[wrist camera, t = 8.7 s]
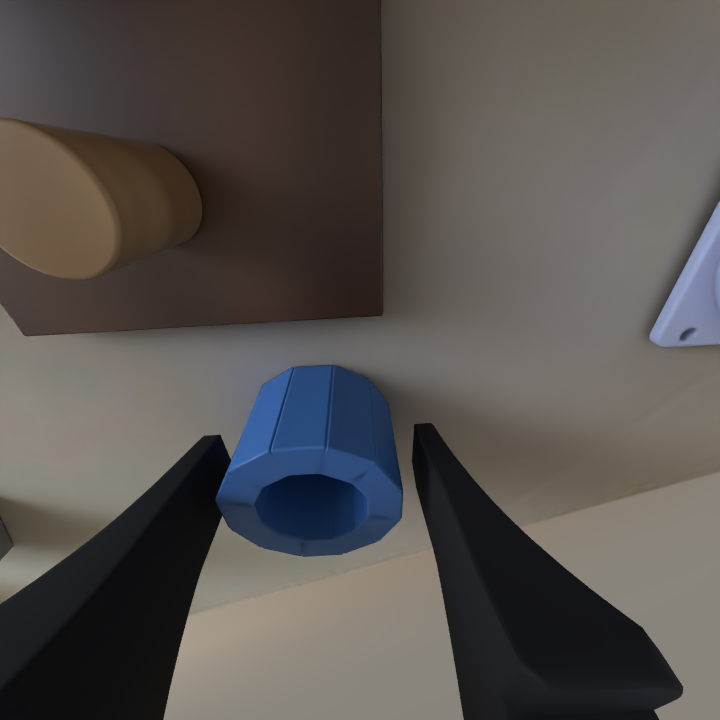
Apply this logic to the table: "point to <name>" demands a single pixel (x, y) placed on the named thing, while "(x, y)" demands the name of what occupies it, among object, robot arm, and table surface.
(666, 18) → the table surface
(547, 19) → the table surface
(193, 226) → the holder
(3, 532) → the dice cube
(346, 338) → the table surface
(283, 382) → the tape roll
